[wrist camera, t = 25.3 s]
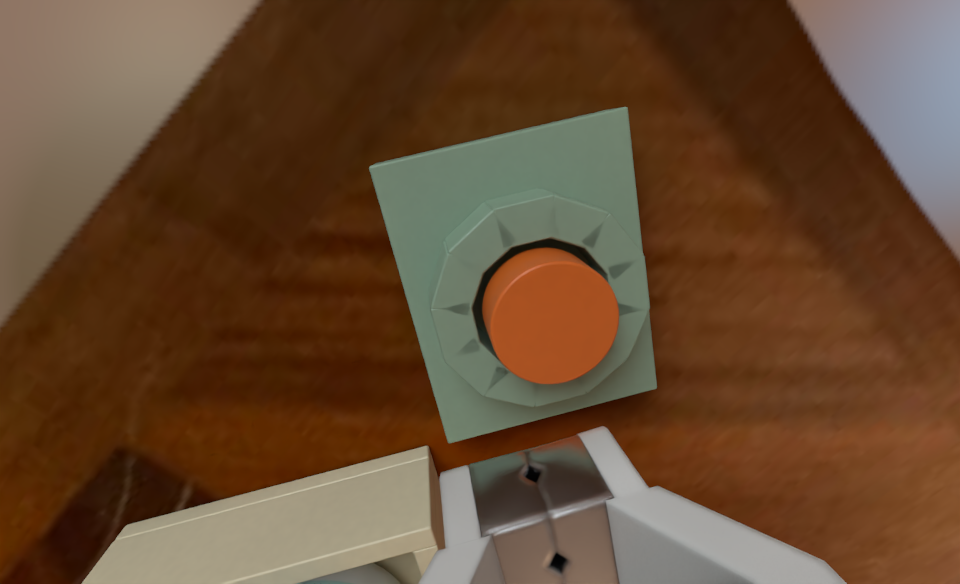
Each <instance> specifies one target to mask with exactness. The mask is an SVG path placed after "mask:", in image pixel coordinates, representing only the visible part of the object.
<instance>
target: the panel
mask: <svg viewBox="0 0 960 584" xmlns="http://www.w3.org/2000/svg"><path fill="white" fill-rule="evenodd" d="M369 169H370V173H371V176H372V180H373V183H374V187H375V190H376V194H377V197H378V201H379V204H380V208H381V211H382V215H383V218H384V222H385V225H386V229H387V232H388V236H389V239H390V243H391V246H392V250H393V253H394V256H395V260H396V263H397V267H398V270H399V274H400V277H401V281H402V284H403V288H404V291H405V295H406V298H407V302H408V305H409V309H410V312H411V316H412V319H413V323H414V326H415V330H416V333H417V337H418V340H419V343H420V347H421V350H422V354H423V357H424V361H425V364H426V368H427V371H428V375H429V378H430V382H431V385H432V389H433V392H434V396H435V399H436V403H437V406H438V410H439V413H440V417H441V420H442V423H443V427H444V430H445V434H446V437H447V441H448V443H453V442H457V441H461V440H464V439H468V438H472V437H476V436H480V435H483V434H487V433H491V432H495V431H498V430H502V429H506V428H510V427H514V426H517V425H521V424H525V423H529V422H532V421H536V420H540V419H544V418H548V417H551V416H555V415H559V414H563V413H566V412H570V411H574V410H578V409H582V408H585V407H589V406H593V405H597V404H600V403H604V402H608V401H612V400H616V399H619V398H623V397H627V396H631V395H635V394H638V393H642V392H646V391H650V390H653V389H656V388H657V382H656V373H655V363H654V354H653V344H652V335H651V325H650V316H649V309H650V302H649V293H648V283H647V274H646V264H645V256H644V254H643V249H642V240H641V230H640V221H639V211H638V201H637V192H636V182H635V173H634V163H633V154H632V144H631V135H630V125H629V116H628V108H627V107H621V108H615V109H609V110H603V111H599V112H595V113H591V114H586V115H582V116H578V117H573V118H569V119H565V120H560V121H556V122H552V123H548V124H543V125H539V126H535V127H530V128H526V129H522V130H517V131H513V132H509V133H504V134H500V135H496V136H492V137H487V138H483V139H479V140H474V141H470V142H466V143H461V144H457V145H453V146H448V147H444V148H440V149H436V150H431V151H427V152H423V153H418V154H414V155H410V156H405V157H401V158H397V159H393V160H388V161H384V162H380V163H375V164H374V165H372V166H370V167H369ZM544 247H548V248H556V249H561V250H564V251H566V252H569V253H571V254H573V255H575V256H576V257H577V258H579V259H580V260H582V261H583V262H584V263H586V264H587V265H588V266H590V267H591V268H592V269H594V270H595V271H596V272H598V273H599V274H600V275H601V276H602V277H603V278H604V279H605V280H606V281H607V282H608V283H609V285H610V286H611V288H612V290H613V292H614V294H615V296H616V299H617V303H618V308H619V326H618V330H617V334H616V337H615V340H614V342H613V344H612V346H611V348H610V350H609V351H608V353H607V355H606V356H605V357H604V358H603V359H602V361H601V362H600V363H599V364H598V365H597V366H596V367H594V368H593V369H592V370H590V371H589V372H588V373H586V374H584V375H583V376H581V377H579V378H576V379H574V380H571V381H568V382H564V383H559V384H539V383H533V382H530V381H527V380H524V379H522V378H520V377H518V376H516V375H515V374H513V373H512V372H511V371H509V370H508V369H507V368H506V367H505V366H504V365H503V364H502V363H501V361H500V360H499V358H498V357H497V355H496V353H495V351H494V349H493V346H492V343H491V341H490V338H489V335H488V332H487V329H486V327H485V323H484V320H483V314H482V303H483V297H484V293H485V290H486V287H487V285H488V283H489V281H490V279H491V277H492V276H493V274H494V273H495V272H496V270H497V269H498V268H499V267H500V266H501V265H502V264H503V263H505V262H506V261H507V260H508V259H510V258H511V257H513V256H515V255H517V254H519V253H521V252H523V251H526V250H530V249H534V248H544Z"/></svg>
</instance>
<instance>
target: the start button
mask: <svg viewBox="0 0 960 584" xmlns="http://www.w3.org/2000/svg"><path fill="white" fill-rule="evenodd" d="M482 314H483V320H484V323H485V327H486V329H487V332H488V335H489V338H490V341H491V343H492V346H493V349H494V351H495V353H496V355H497V357H498V358H499V360H500V361H501V363H502V364H503V365H504V366H505V367H506V368H507V369H508V370H509V371H511V372H512V373H513V374H515V375H516V376H518V377H520V378H522V379H524V380H527V381H530V382H533V383H539V384H559V383H564V382H568V381H571V380H574V379H576V378H579V377H581V376H583V375H584V374H586V373H588V372H589V371H590V370H592V369H593V368H594V367H596V366H597V365H598V364H599V363H600V362H601V361H602V359H603V358H604V357H605V356H606V355H607V353H608V351H609V350H610V348H611V346H612V344H613V342H614V340H615V337H616V334H617V330H618V326H619V308H618V303H617V299H616V296H615V294H614V292H613V290H612V288H611V286H610V285H609V283H608V282H607V281H606V280H605V279H604V278H603V277H602V276H601V275H600V274H599V273H598V272H596V271H595V270H594V269H592V268H591V267H590V266H588V265H587V264H586V263H584V262H583V261H582V260H580V259H579V258H577V257H576V256H575V255H573V254H571V253H569V252H566V251H564V250H561V249H556V248H548V247H544V248H534V249H530V250H526V251H523V252H521V253H519V254H517V255H515V256H513V257H511V258H510V259H508V260H507V261H506V262H505V263H503V264H502V265H501V266H500V267H499V268H498V269H497V270H496V272H495V273H494V274H493V276H492V277H491V279H490V281H489V283H488V285H487V287H486V290H485V293H484V297H483V303H482Z"/></svg>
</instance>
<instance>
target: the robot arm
mask: <svg viewBox="0 0 960 584" xmlns="http://www.w3.org/2000/svg"><path fill="white" fill-rule="evenodd" d="M439 479H440V490H441V502H442V513H443V525H444V536H445V547H446V548H445V549H442V550H438V551H436V553H435V555H434V556H433V558H432V560H431V562H430V563H429V565H428V567H427V569H426V571H425V572H424V574H423V576H422V578H421V579H420V581H419V583H418V584H847V583H846V582H845V581H844V580H843V579H842V578H841V577H840V576H839V575H838V574H837V573H836V572H835V571H834V570H833V569H832V568H831V567H830V566H829V565H828V564H827V563H826V562H825V561H823V560H821V559H819V558H817V557H815V556H812V555H810V554H808V553H806V552H804V551H801V550H799V549H797V548H795V547H792V546H790V545H788V544H786V543H784V542H781V541H779V540H777V539H775V538H772V537H770V536H768V535H766V534H764V533H761V532H759V531H757V530H755V529H753V528H750V527H748V526H746V525H744V524H741V523H739V522H737V521H735V520H733V519H730V518H728V517H726V516H724V515H722V514H719V513H717V512H715V511H713V510H710V509H708V508H706V507H704V506H702V505H699V504H697V503H695V502H693V501H691V500H688V499H686V498H684V497H682V496H679V495H677V494H675V493H673V492H671V491H668V490H666V489H664V488H662V487H660V486H655V487H651V488H649V487H648V486H647V484H646V483H645V482H644V480H643V479H642V477H641V476H640V474H639V473H638V471H637V470H636V469H635V467H634V466H633V464H632V463H631V461H630V460H629V459H628V457H627V456H626V454H625V453H624V451H623V450H622V448H621V447H620V446H619V444H618V443H617V441H616V440H615V438H614V437H613V436H612V434H611V433H610V431H609V430H608V428H606V427H604V426H601V427H598V428H595V429H591V430H588V431H585V432H582V433H579V434H577V435H575V436H572V437H568V438H565V439H561V440H558V441H554V442H551V443H547V444H544V445H541V446H537V447H534V448H530V449H527V450H522V451H518V452H515V453H511V454H507V455H503V456H499V457H495V458H491V459H488V460H484V461H480V462H476V463H472V464H469V466H468V465H466V466H462V467H458V468H455V469H451V470H447V471H444V472H441V474H440V478H439Z"/></svg>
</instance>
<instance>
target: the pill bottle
mask: <svg viewBox="0 0 960 584" xmlns="http://www.w3.org/2000/svg"><path fill="white" fill-rule="evenodd" d="M297 584H400V583H399V582H398V580H397V579H396V578H395V577H394V576H393V575H391V574H390V573H389V572H388V571H386V570H385V569H383V568H382V567H380V566H378V565H376V564H374V563H370V564H366V565H362V566H359V567H355V568H352V569H348V570H344V571H341V572H337V573H333V574H330V575H326V576H322V577H319V578H315V579H312V580H308V581H304V582H301V583H297Z"/></svg>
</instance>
